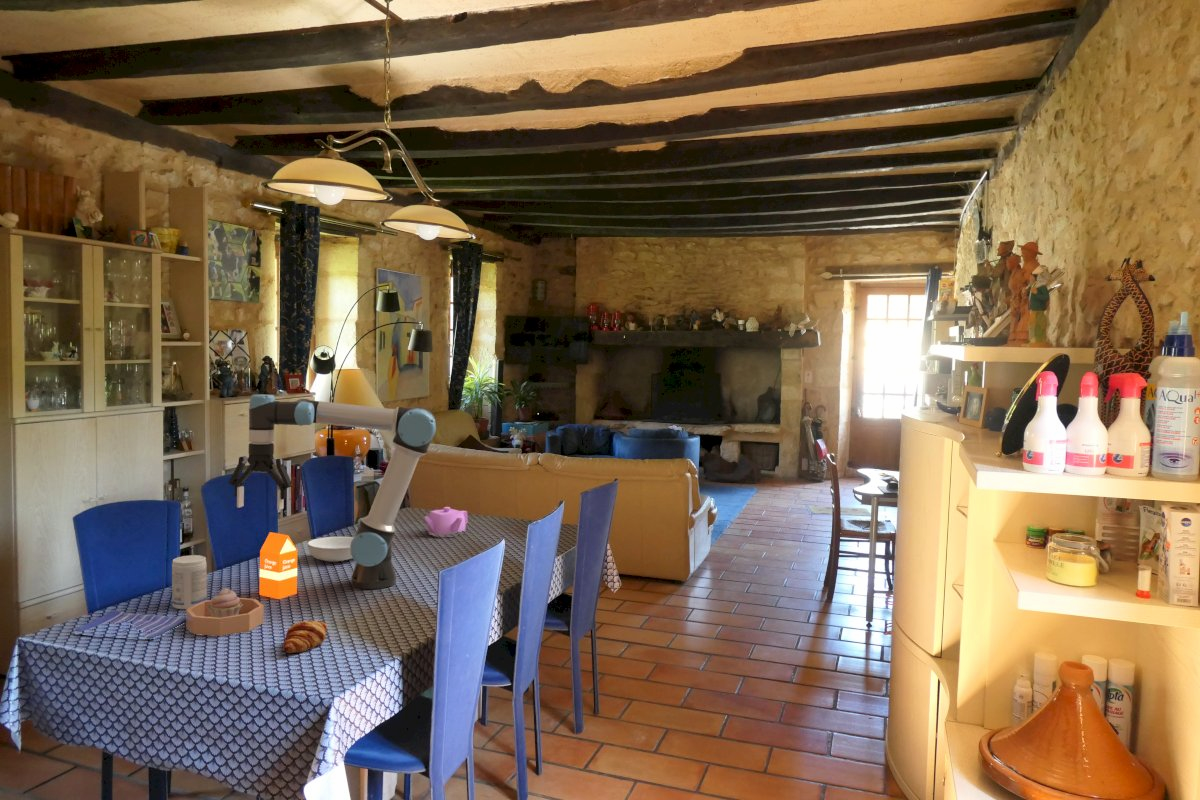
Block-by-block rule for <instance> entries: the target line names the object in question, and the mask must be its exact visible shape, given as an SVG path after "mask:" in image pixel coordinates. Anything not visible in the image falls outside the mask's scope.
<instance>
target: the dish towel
mask: <svg viewBox="0 0 1200 800" xmlns="http://www.w3.org/2000/svg"><path fill="white" fill-rule="evenodd" d="M124 620H125V621H124ZM130 621H133V623H135V624H134V625H136V626H137V627H138V626H139V627H138V628H136V630H134V631H139V630H143V629H144V630H145V629H146V630H145V631H143V632H144V634H145V632H146V633H147V632H149V631H151V630H155V631H152V632H150V633H147V634H145V635H143V636H141V637H147V638H154V637H156V636H159V635H161V634H163V633H165V632H167V631H169V630H171V629H173V628H175V627H177V626H179V625H181V624H183V623H185V622H186V616H181V615H180V616H175V617H174V616H165V615H156V614H141V613H133V612H132V613H131V612H130V613H129V612H126V611H122V610H121V611H120V610H117V609H112V610H111V611H109V612H107V613H106V614H104V615H102V616H100V617H98V618H96V619H94V620H92V621H90V622H88V623H85V624H83V625H81V626H78V627H77V628H76V629H74V630H75V631H86V630H88V629H90V628H92V627H95V626H98V625H100V624H104V623H107V622H108V623H109V622H110V623H111V624H113V623H115V624H116V623H118V624H119V623H122V622H130ZM185 624H186V623H185ZM130 625H132V626H133V624H129V626H130ZM141 625H142V626H141ZM183 625H184V624H183ZM136 626H134V627H136ZM181 626H182V625H181ZM122 628H124V627H122ZM130 629H131V630H132V629H135V628H130ZM127 630H128V631H129V629H127ZM127 630H123V631H118V632H119V633H121V632H122V633H123V632H124V631H127ZM111 633H113V632H111ZM114 633H115V632H114ZM116 633H117V632H116ZM142 634H143V633H142ZM126 635H127V634H126ZM130 635H131V634H130ZM139 635H140V634H139Z"/></svg>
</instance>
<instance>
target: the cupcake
mask: <svg viewBox="0 0 1200 800" xmlns="http://www.w3.org/2000/svg"><path fill="white" fill-rule="evenodd" d="M239 598H240V597H238V596H237V593H236V592H234V591H233V590H231V589H229V588H228V587H225V588H223V589H221V590H219V591H218V593H217V594H216V595H215V596H214V597H213V598H211V600H212V604H210V606H207V607H208V609H209V611H210V613H211V617H217V618H222V617H228V616H234V615H238V614H239V611H240V609H241V607H242V605H243V604H241V602H240V599H239Z"/></svg>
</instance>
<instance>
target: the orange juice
mask: <svg viewBox="0 0 1200 800" xmlns="http://www.w3.org/2000/svg"><path fill="white" fill-rule="evenodd" d="M298 552H299V551H298V549H297V547H296V546H295V544H294V543H293V541H292V539H291V538H290V535H287V534H282V533H279V532H270V531H269V532H268V535H267V537H266V538H265V541H264V543H263V544H262V546H261V549H260V550H259V595H260V596H263V597H268V598H273V599H276V600H280V599H283V598H287V597H290V596H294V595H297V594H298V587H297V586H298Z"/></svg>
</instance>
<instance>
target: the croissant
mask: <svg viewBox="0 0 1200 800" xmlns="http://www.w3.org/2000/svg"><path fill="white" fill-rule="evenodd" d="M327 629H328V624H327V623H326V622H322V621H319V620H318V621H316V620H306V621H305V620H304V621H303V620H302V621H299V622H296V623H294V624H292V625H291V626H290V627H289V628H288V630H287V631H286V634H285V639H284V642H283V644H282V649H283V651H284V652H286V653H288V654H292V653H295V654H297V653H304V652H306V651H308V650H311V649H314V648H315V647H316V646H317V647H318V646H319V645H321V643H323V642H324V641H325V639H326V636H327V634H326V633H327Z"/></svg>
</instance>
